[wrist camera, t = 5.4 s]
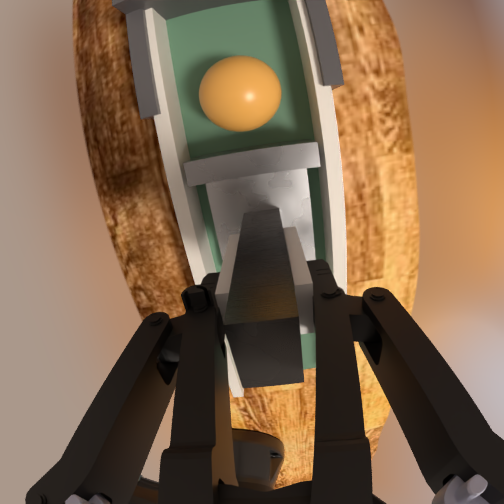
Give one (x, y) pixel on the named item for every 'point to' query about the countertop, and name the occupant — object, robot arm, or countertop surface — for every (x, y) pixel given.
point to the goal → (181, 3)
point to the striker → (261, 250)
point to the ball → (240, 93)
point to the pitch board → (275, 130)
